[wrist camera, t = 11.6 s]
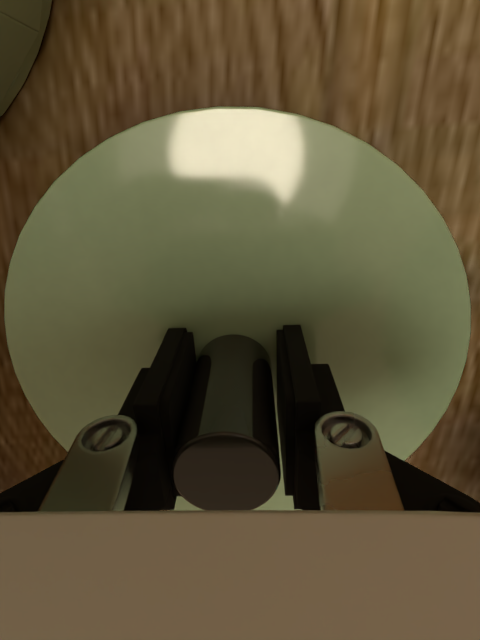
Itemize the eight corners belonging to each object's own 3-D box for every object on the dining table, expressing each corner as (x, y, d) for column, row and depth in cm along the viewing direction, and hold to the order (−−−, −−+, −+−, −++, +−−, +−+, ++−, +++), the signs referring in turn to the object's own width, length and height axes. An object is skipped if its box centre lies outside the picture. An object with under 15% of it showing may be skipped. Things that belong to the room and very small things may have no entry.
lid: (77, 499, 17) (0, 655, 11) (-43, 124, 10) (-325, 103, 5) (417, 496, 16) (495, 661, 11) (504, 94, 10) (780, 38, 5)
